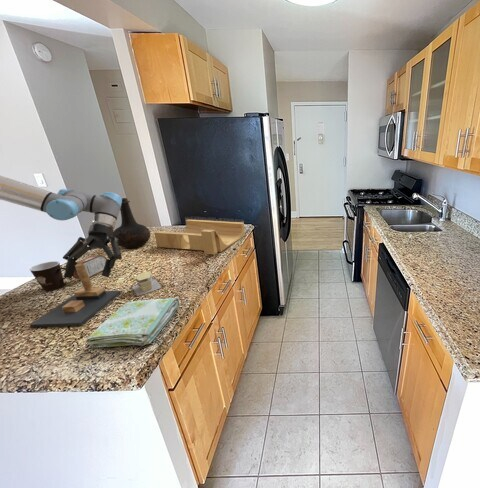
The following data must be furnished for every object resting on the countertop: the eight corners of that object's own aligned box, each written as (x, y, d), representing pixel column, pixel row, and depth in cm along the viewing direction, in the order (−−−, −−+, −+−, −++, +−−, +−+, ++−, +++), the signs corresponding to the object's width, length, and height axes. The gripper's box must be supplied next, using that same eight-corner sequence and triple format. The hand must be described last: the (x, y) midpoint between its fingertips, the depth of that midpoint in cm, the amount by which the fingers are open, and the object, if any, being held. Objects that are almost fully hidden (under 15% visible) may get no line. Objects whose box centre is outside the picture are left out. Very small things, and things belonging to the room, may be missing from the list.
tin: (105, 267, 127) (100, 251, 124) (111, 267, 127) (105, 251, 124) (74, 282, 113) (67, 265, 110) (80, 283, 113) (73, 265, 110)
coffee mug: (35, 290, 108) (24, 268, 104) (60, 280, 115) (51, 260, 111) (51, 295, 104) (41, 273, 100) (77, 285, 111) (68, 264, 108)
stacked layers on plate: (162, 287, 110) (159, 276, 107) (137, 296, 104) (133, 284, 102) (155, 279, 116) (152, 268, 114) (131, 286, 110) (128, 275, 108)
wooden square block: (64, 312, 92) (61, 307, 91) (73, 306, 95) (71, 300, 94) (76, 312, 92) (73, 306, 91) (85, 305, 96) (82, 300, 95)
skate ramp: (245, 236, 170) (243, 212, 164) (214, 257, 137) (210, 228, 132) (190, 232, 176) (186, 209, 171) (149, 252, 144) (142, 224, 138)
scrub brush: (76, 300, 99) (63, 267, 94) (85, 294, 103) (72, 262, 97) (98, 299, 99) (86, 267, 94) (106, 293, 103) (94, 262, 98)
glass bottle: (108, 249, 148) (91, 200, 137) (137, 238, 164) (124, 194, 153) (132, 253, 143) (116, 203, 132) (159, 241, 159) (148, 196, 148)
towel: (85, 351, 77) (79, 337, 75) (131, 308, 96) (127, 296, 94) (149, 348, 77) (144, 335, 76) (181, 306, 97) (178, 294, 95)
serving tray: (30, 327, 86) (29, 324, 86) (79, 294, 105) (78, 291, 104) (81, 325, 87) (80, 322, 87) (121, 293, 106) (120, 290, 105)
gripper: (139, 230, 111) (127, 278, 103) (78, 231, 110) (60, 280, 101) (128, 222, 104) (113, 273, 96) (62, 223, 103) (42, 275, 95)
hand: (86, 277), depth 99 cm, fingers open, 13 cm apart
